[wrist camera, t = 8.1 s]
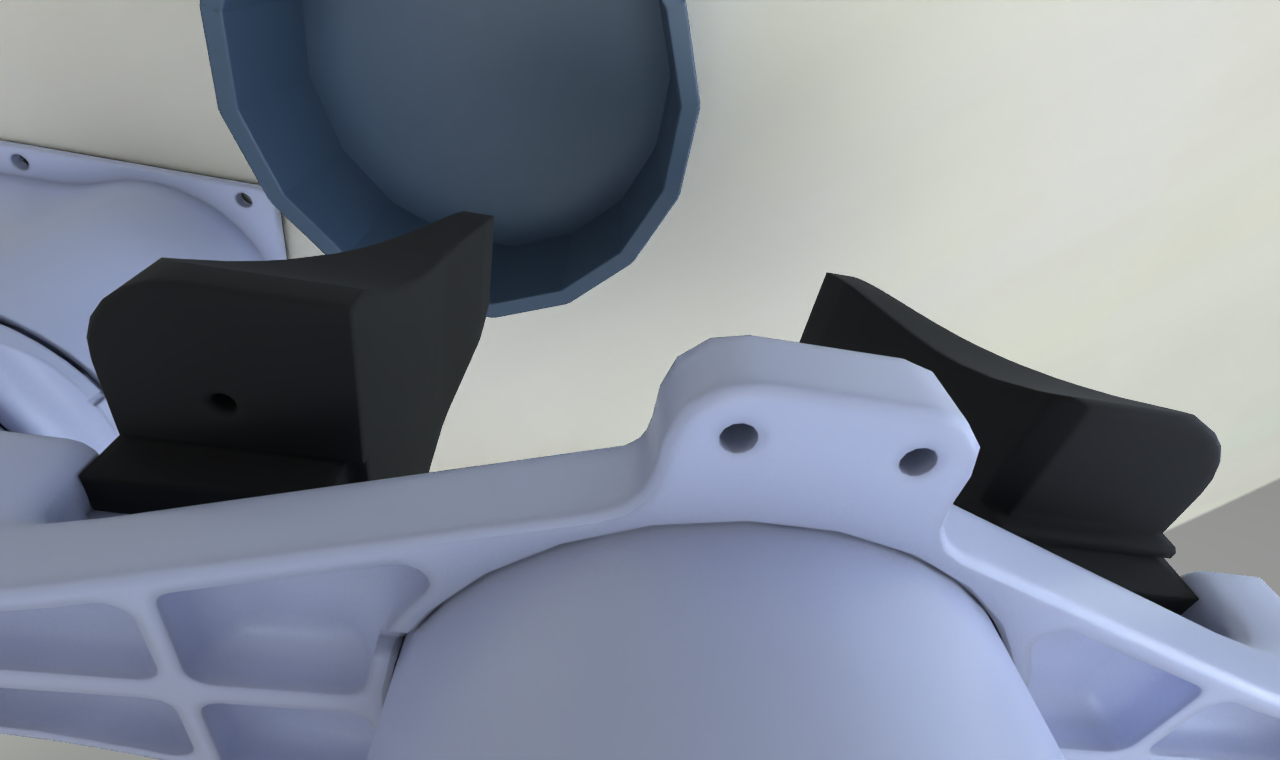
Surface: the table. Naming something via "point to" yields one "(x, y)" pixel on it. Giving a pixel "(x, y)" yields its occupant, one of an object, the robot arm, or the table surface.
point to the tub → (466, 124)
